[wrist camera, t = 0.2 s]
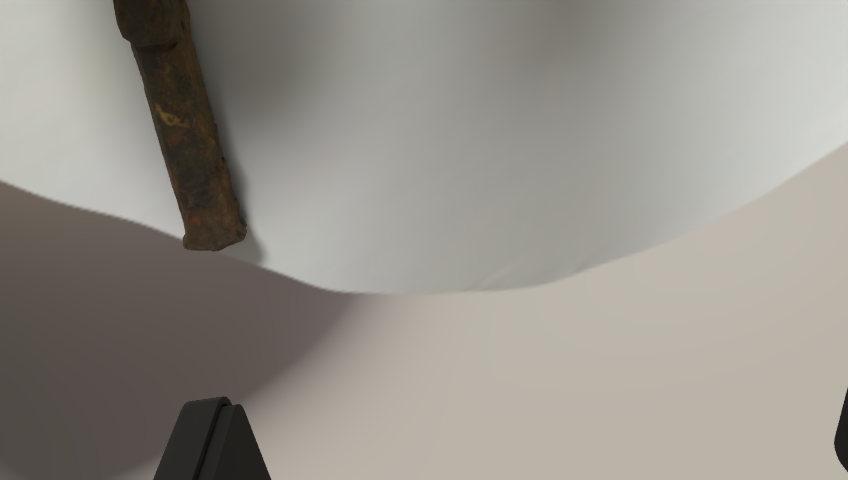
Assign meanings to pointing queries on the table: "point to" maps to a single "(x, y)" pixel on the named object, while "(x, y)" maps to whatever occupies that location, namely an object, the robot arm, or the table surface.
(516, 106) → the table surface
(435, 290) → the table surface
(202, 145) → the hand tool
